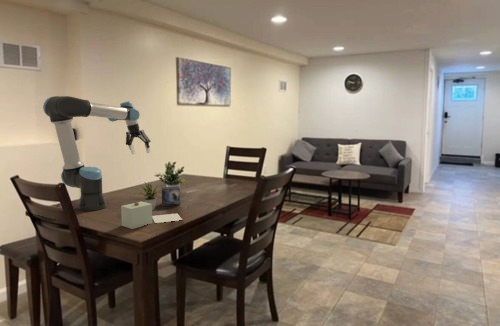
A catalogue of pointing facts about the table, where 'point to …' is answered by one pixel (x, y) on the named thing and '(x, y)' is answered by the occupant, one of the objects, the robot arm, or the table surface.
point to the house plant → (149, 195)
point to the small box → (170, 196)
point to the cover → (136, 214)
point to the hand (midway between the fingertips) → (141, 153)
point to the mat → (166, 218)
